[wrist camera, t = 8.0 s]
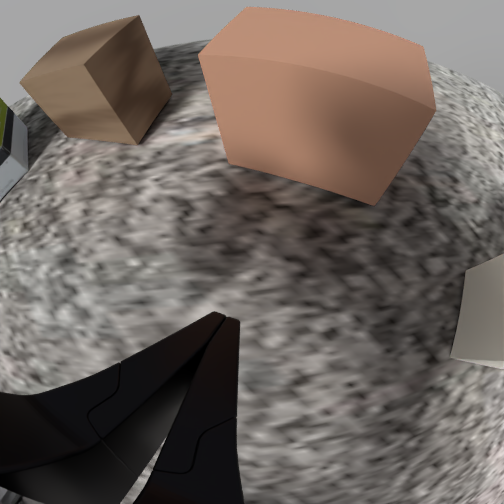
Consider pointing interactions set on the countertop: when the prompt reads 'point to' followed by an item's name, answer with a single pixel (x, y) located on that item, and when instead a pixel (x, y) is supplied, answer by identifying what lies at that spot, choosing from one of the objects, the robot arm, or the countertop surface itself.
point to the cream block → (482, 316)
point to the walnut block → (101, 83)
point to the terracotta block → (318, 99)
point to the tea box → (12, 149)
